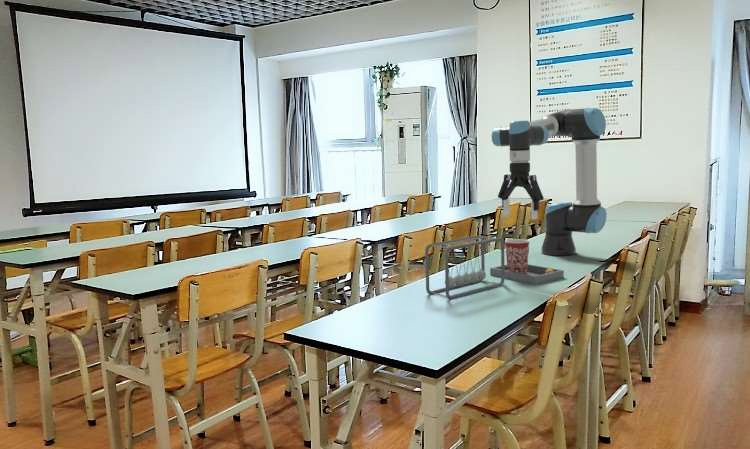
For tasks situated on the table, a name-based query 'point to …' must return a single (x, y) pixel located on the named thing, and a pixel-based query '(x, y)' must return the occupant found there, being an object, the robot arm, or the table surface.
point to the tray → (529, 274)
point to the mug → (517, 255)
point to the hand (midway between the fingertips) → (520, 217)
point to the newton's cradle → (465, 278)
